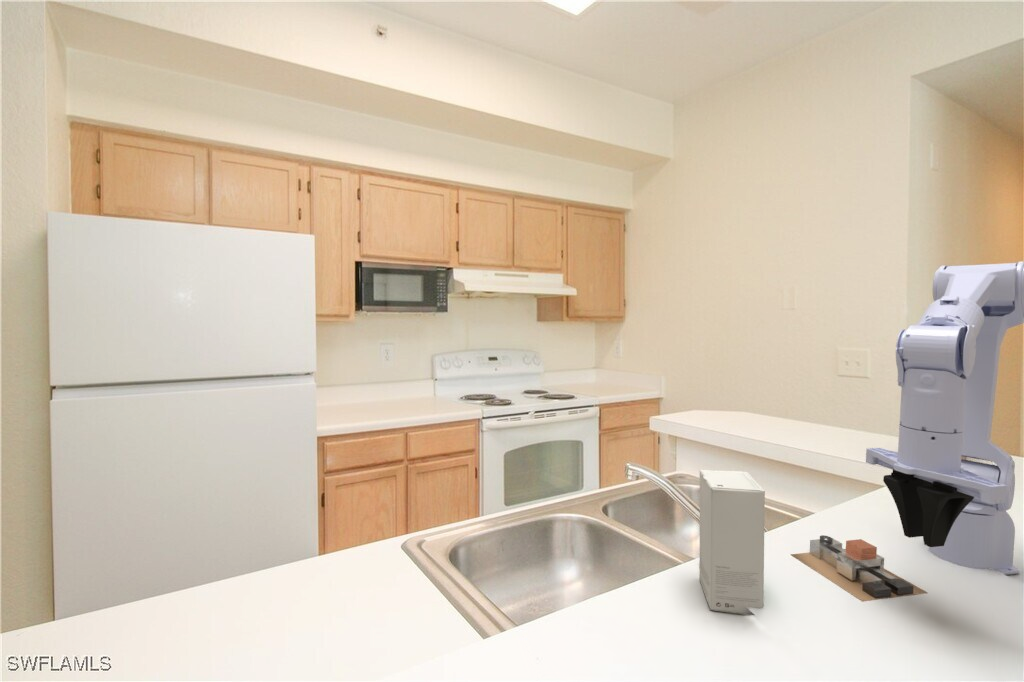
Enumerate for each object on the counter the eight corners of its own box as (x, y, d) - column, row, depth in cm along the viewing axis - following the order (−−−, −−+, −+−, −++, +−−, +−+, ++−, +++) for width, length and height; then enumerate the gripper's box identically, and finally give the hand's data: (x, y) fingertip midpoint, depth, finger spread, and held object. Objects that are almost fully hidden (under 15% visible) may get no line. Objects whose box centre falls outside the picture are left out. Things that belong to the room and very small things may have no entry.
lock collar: (867, 567, 69) (868, 538, 69) (883, 576, 67) (884, 546, 67) (836, 571, 68) (838, 541, 68) (851, 580, 66) (853, 549, 66)
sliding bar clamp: (837, 550, 75) (837, 533, 74) (913, 593, 63) (914, 573, 63) (803, 553, 74) (804, 536, 73) (874, 598, 62) (876, 578, 62)
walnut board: (847, 556, 75) (847, 548, 75) (927, 601, 64) (928, 592, 64) (790, 562, 73) (790, 554, 73) (861, 610, 62) (862, 601, 62)
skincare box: (764, 618, 60) (768, 492, 59) (706, 611, 61) (710, 488, 60) (746, 581, 68) (750, 470, 67) (695, 576, 69) (698, 466, 68)
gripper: (848, 415, 65) (843, 517, 65) (970, 445, 50) (962, 575, 51) (893, 414, 66) (887, 513, 67) (1025, 442, 52) (1016, 569, 53)
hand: (923, 540), depth 59 cm, fingers closed
